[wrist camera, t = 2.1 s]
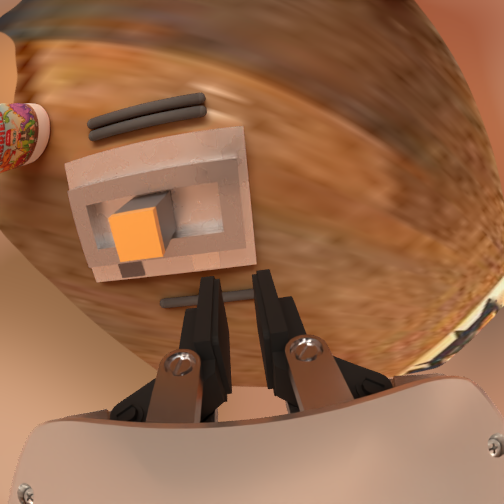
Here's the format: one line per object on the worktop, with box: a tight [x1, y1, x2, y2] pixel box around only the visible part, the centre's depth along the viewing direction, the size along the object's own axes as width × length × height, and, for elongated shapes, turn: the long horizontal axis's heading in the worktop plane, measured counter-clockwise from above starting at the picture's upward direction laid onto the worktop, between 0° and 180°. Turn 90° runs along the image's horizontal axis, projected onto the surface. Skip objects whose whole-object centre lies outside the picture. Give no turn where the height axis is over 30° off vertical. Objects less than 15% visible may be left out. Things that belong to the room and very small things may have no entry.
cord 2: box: [160, 289, 254, 308], centre depth 33 cm, size 13×1×1 cm, turn 95°
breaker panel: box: [65, 126, 257, 282], centre depth 27 cm, size 15×20×4 cm
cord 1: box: [87, 93, 207, 141], centre depth 24 cm, size 13×3×1 cm, turn 95°
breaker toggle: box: [108, 191, 176, 262], centre depth 24 cm, size 4×4×7 cm
